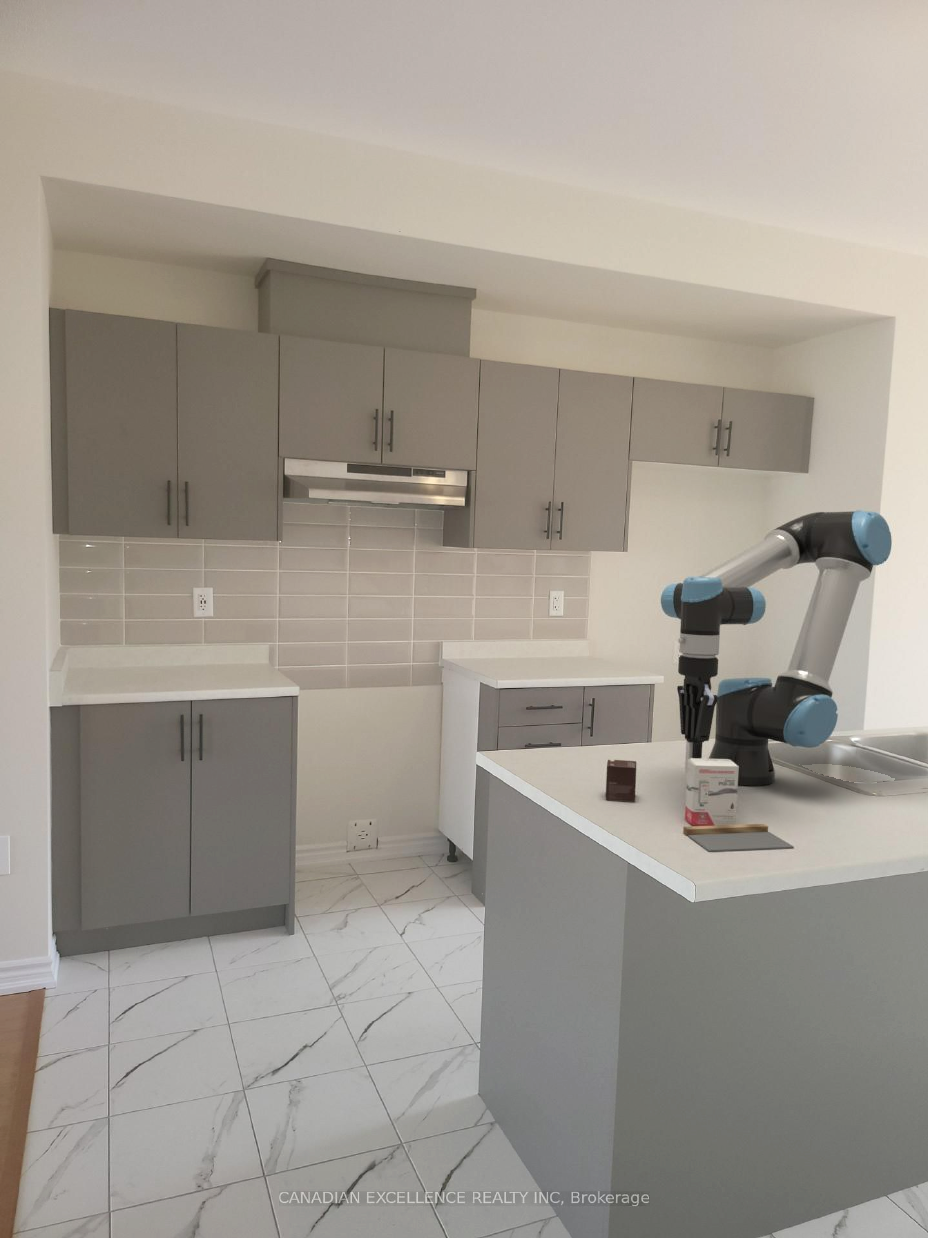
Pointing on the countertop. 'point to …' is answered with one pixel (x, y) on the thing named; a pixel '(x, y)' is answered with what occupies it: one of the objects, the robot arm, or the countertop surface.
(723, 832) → the batten
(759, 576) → the robot arm
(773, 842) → the mat
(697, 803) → the ink box
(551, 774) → the countertop surface
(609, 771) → the box
